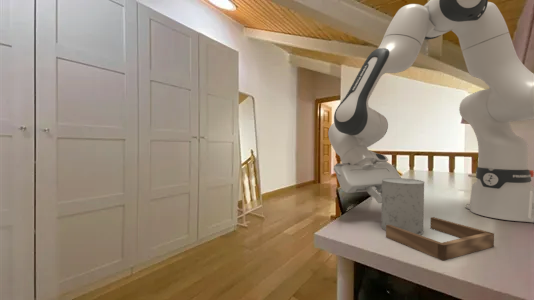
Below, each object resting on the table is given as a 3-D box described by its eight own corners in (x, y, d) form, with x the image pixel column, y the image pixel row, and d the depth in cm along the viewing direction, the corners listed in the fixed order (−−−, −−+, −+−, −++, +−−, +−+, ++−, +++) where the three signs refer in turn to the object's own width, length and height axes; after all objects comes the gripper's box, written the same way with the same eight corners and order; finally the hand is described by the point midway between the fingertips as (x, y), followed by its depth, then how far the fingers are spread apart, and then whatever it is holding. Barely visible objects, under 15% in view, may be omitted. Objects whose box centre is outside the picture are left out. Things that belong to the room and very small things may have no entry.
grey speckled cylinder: (431, 236, 60) (432, 184, 60) (387, 234, 62) (388, 183, 61) (414, 224, 70) (415, 178, 69) (376, 222, 71) (377, 177, 71)
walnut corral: (433, 227, 67) (433, 217, 66) (493, 246, 55) (494, 233, 55) (385, 237, 60) (386, 225, 60) (443, 260, 48) (443, 245, 48)
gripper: (336, 156, 73) (360, 198, 64) (389, 155, 81) (418, 192, 72) (326, 170, 77) (348, 211, 69) (378, 168, 85) (403, 204, 76)
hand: (384, 201), depth 70 cm, fingers closed, pressing on grey speckled cylinder
